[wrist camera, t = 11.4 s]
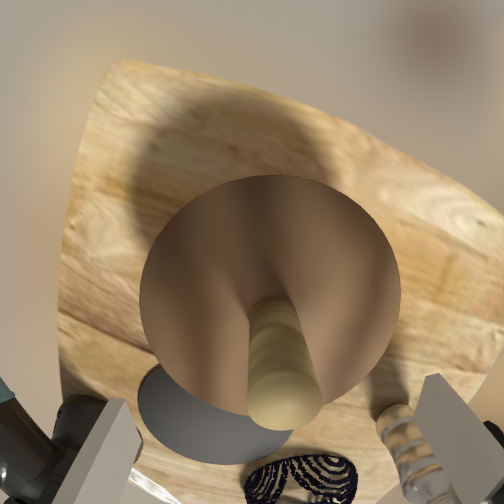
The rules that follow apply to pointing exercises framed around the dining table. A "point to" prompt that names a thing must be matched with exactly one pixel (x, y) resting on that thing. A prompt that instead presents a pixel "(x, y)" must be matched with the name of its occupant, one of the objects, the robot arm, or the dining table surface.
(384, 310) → the lid
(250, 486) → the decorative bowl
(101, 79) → the dining table surface
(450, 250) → the dining table surface
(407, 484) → the plastic bottle
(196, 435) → the mat
